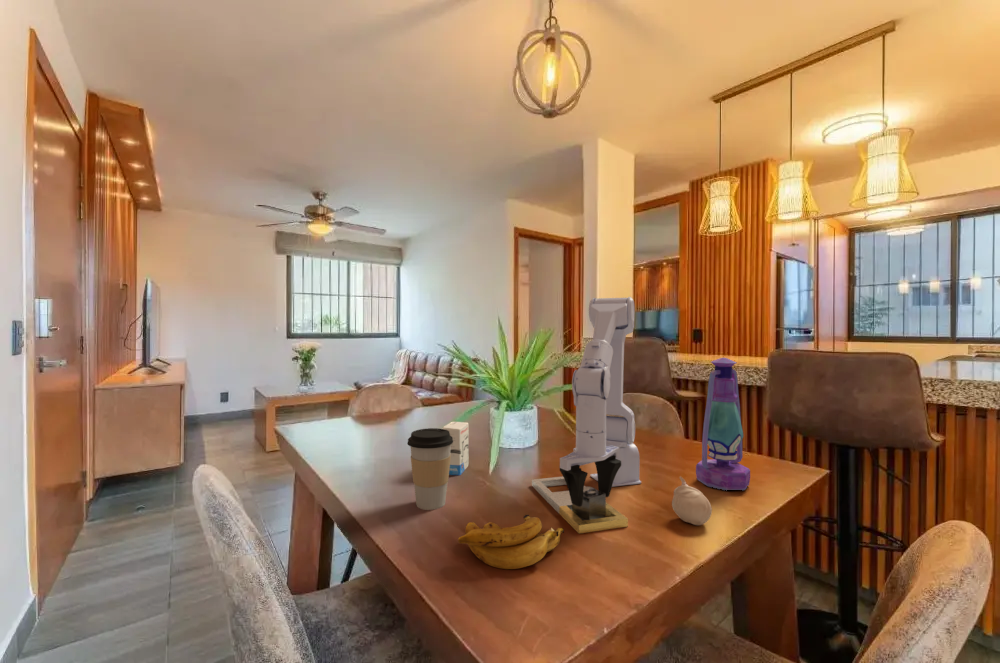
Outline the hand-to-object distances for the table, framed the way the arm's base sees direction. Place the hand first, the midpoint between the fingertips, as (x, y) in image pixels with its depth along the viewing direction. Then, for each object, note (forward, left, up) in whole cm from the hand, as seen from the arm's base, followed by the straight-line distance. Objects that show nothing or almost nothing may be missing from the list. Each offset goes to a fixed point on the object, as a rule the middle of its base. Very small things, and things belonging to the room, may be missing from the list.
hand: (590, 499), depth 83 cm
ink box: (+20, -35, -4) cm, 40 cm away
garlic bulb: (-18, +7, -4) cm, 19 cm away
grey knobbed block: (0, 0, -4) cm, 4 cm away
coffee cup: (+29, -15, -4) cm, 33 cm away
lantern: (-39, -8, -4) cm, 40 cm away
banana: (+18, +6, -4) cm, 20 cm away
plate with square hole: (0, -7, -4) cm, 8 cm away
